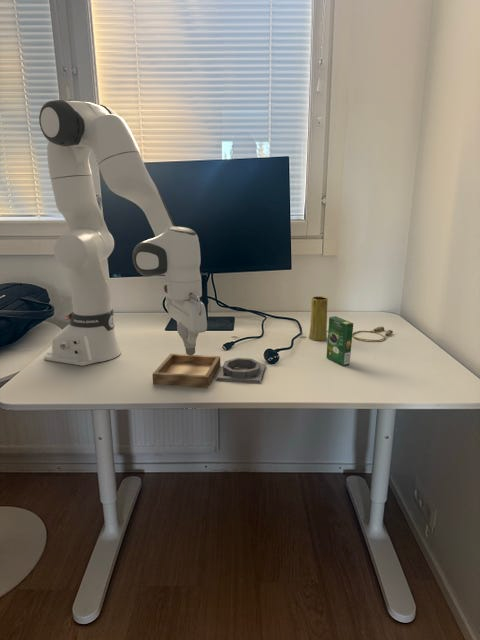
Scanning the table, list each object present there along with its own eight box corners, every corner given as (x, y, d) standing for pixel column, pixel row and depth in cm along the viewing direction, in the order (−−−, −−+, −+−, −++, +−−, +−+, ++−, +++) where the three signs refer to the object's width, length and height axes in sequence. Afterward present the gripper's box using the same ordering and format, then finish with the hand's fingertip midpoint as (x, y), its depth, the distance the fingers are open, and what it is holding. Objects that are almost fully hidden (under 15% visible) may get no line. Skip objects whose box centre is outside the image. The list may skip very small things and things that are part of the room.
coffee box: (351, 365, 128) (354, 322, 125) (343, 367, 127) (346, 323, 123) (333, 356, 135) (335, 315, 132) (325, 358, 134) (328, 316, 130)
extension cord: (403, 341, 150) (403, 335, 149) (360, 344, 147) (360, 339, 146) (384, 330, 161) (385, 325, 161) (344, 333, 158) (345, 328, 158)
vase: (319, 342, 148) (321, 301, 144) (305, 337, 152) (306, 297, 148) (330, 338, 152) (332, 298, 148) (316, 334, 156) (318, 295, 152)
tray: (153, 384, 116) (152, 373, 116) (171, 363, 131) (170, 353, 130) (208, 388, 114) (208, 377, 113) (220, 366, 128) (220, 356, 127)
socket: (216, 380, 119) (216, 371, 118) (225, 363, 130) (225, 355, 129) (260, 383, 117) (260, 374, 116) (265, 366, 128) (265, 358, 127)
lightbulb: (175, 358, 119) (172, 320, 116) (185, 350, 125) (182, 313, 121) (196, 360, 117) (193, 321, 114) (205, 352, 123) (202, 314, 119)
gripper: (212, 296, 108) (214, 349, 112) (182, 282, 125) (184, 328, 129) (188, 299, 105) (190, 353, 109) (161, 284, 122) (164, 331, 126)
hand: (187, 339), depth 119 cm, fingers closed on lightbulb, 5 cm apart
